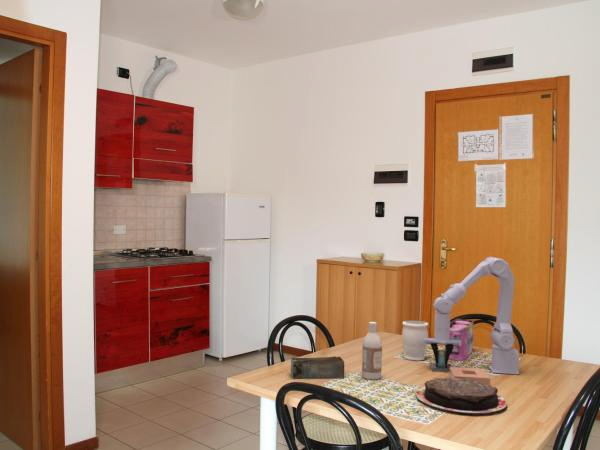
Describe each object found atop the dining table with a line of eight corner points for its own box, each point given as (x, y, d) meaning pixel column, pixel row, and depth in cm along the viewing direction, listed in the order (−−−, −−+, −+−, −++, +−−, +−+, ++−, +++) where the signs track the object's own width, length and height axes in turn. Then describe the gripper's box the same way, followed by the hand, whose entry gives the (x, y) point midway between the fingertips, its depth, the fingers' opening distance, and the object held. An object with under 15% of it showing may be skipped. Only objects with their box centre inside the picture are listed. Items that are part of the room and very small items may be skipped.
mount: (450, 366, 206) (450, 363, 206) (453, 372, 198) (453, 369, 198) (429, 365, 207) (429, 362, 207) (431, 371, 199) (432, 368, 199)
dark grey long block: (290, 373, 193) (290, 355, 193) (340, 372, 195) (341, 355, 195) (292, 379, 185) (292, 361, 185) (345, 379, 187) (345, 360, 187)
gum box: (463, 362, 213) (464, 329, 213) (443, 359, 217) (444, 327, 217) (473, 350, 234) (474, 320, 234) (455, 348, 238) (456, 318, 238)
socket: (482, 376, 194) (482, 368, 194) (489, 386, 182) (490, 378, 182) (449, 374, 195) (449, 366, 195) (454, 384, 183) (454, 376, 183)
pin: (444, 368, 204) (445, 350, 204) (445, 370, 201) (446, 352, 201) (436, 367, 204) (437, 349, 204) (437, 369, 201) (438, 351, 201)
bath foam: (370, 381, 184) (371, 324, 184) (357, 376, 190) (359, 321, 190) (385, 378, 188) (386, 323, 188) (372, 373, 194) (373, 320, 194)
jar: (425, 355, 222) (426, 320, 222) (429, 362, 212) (430, 325, 212) (400, 354, 223) (401, 319, 223) (402, 361, 213) (403, 324, 213)
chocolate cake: (437, 382, 186) (438, 364, 186) (518, 400, 169) (519, 380, 169) (399, 402, 165) (400, 381, 165) (488, 425, 147) (488, 402, 147)
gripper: (424, 329, 199) (423, 364, 199) (463, 331, 197) (462, 367, 197) (422, 325, 206) (421, 360, 206) (460, 327, 204) (459, 362, 204)
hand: (441, 363), depth 202 cm, fingers closed on pin, 3 cm apart
